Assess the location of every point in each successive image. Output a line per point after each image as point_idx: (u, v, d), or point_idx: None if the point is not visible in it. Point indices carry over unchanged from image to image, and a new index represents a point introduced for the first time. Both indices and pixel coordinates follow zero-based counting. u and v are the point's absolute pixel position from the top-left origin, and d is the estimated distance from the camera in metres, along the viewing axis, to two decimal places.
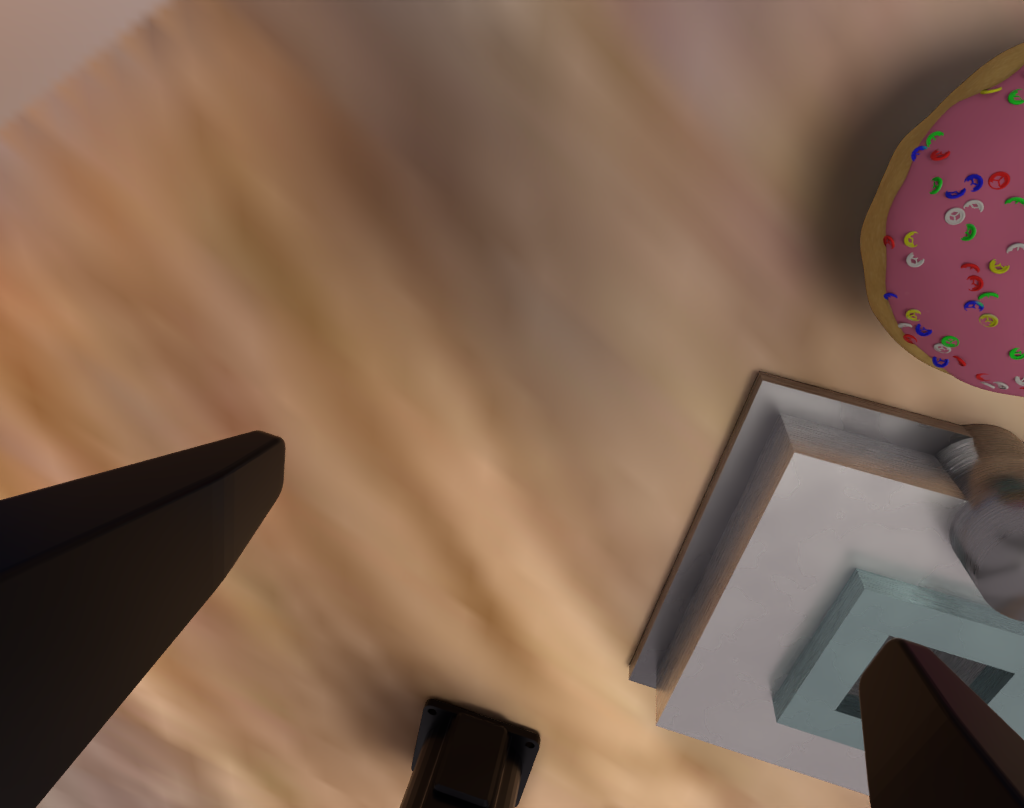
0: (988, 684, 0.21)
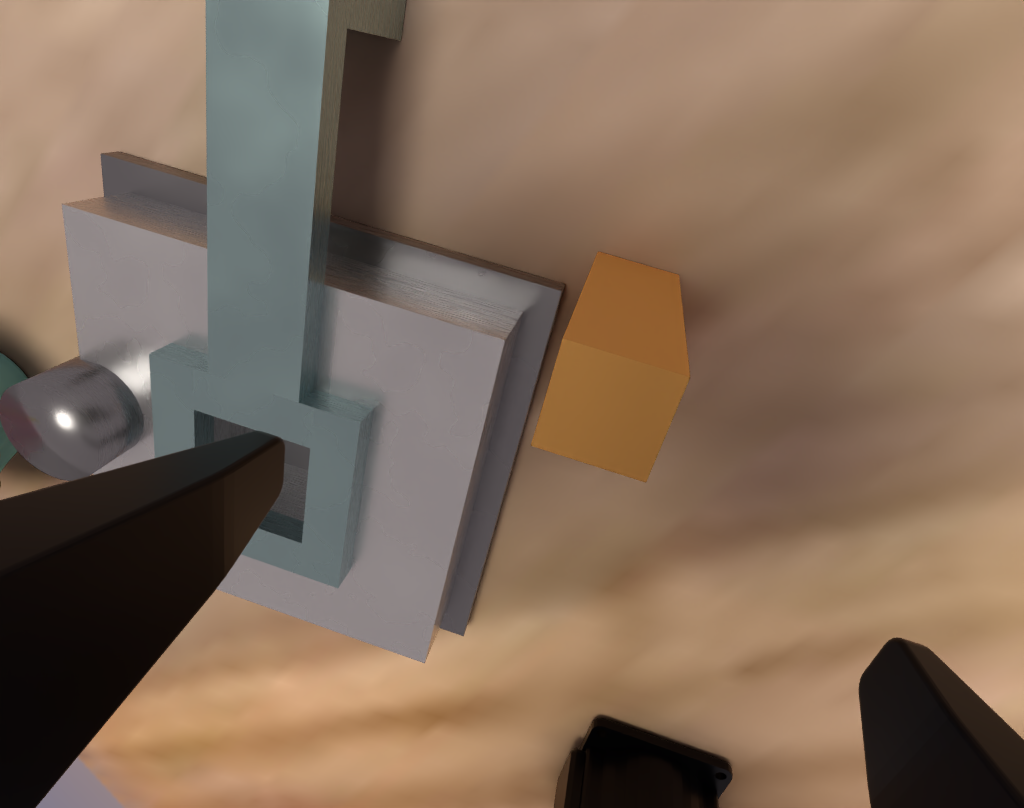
0: None
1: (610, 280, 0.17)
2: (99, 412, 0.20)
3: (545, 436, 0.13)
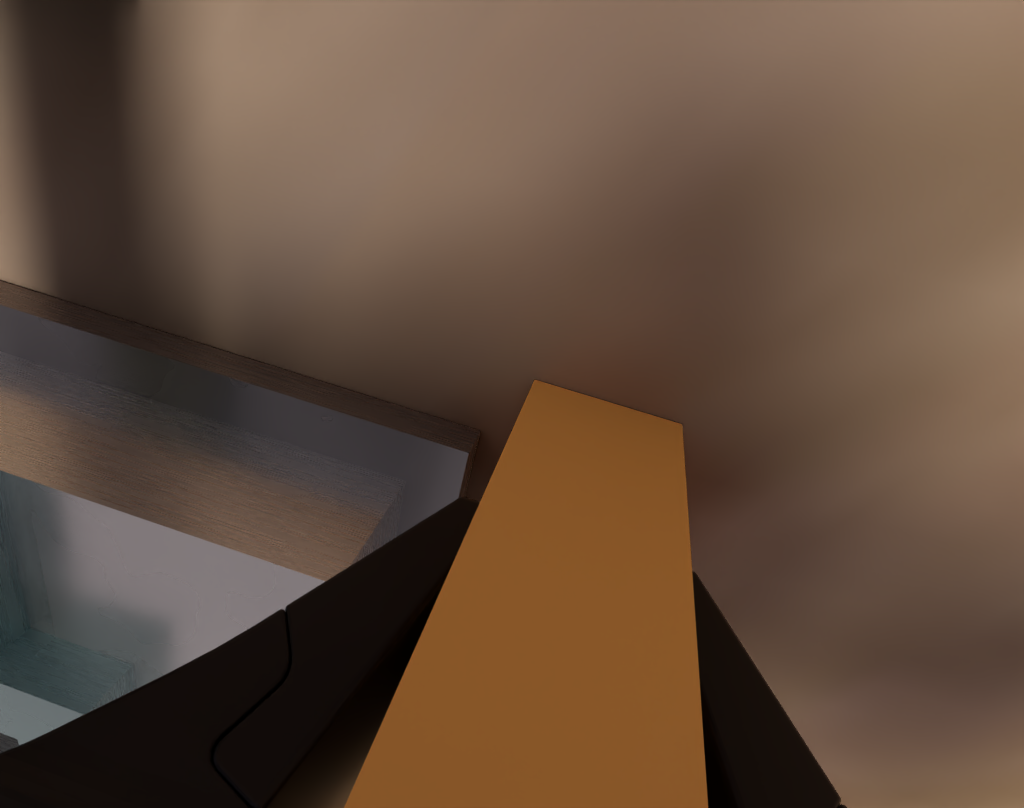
0: None
1: (541, 479, 0.08)
2: None
3: None
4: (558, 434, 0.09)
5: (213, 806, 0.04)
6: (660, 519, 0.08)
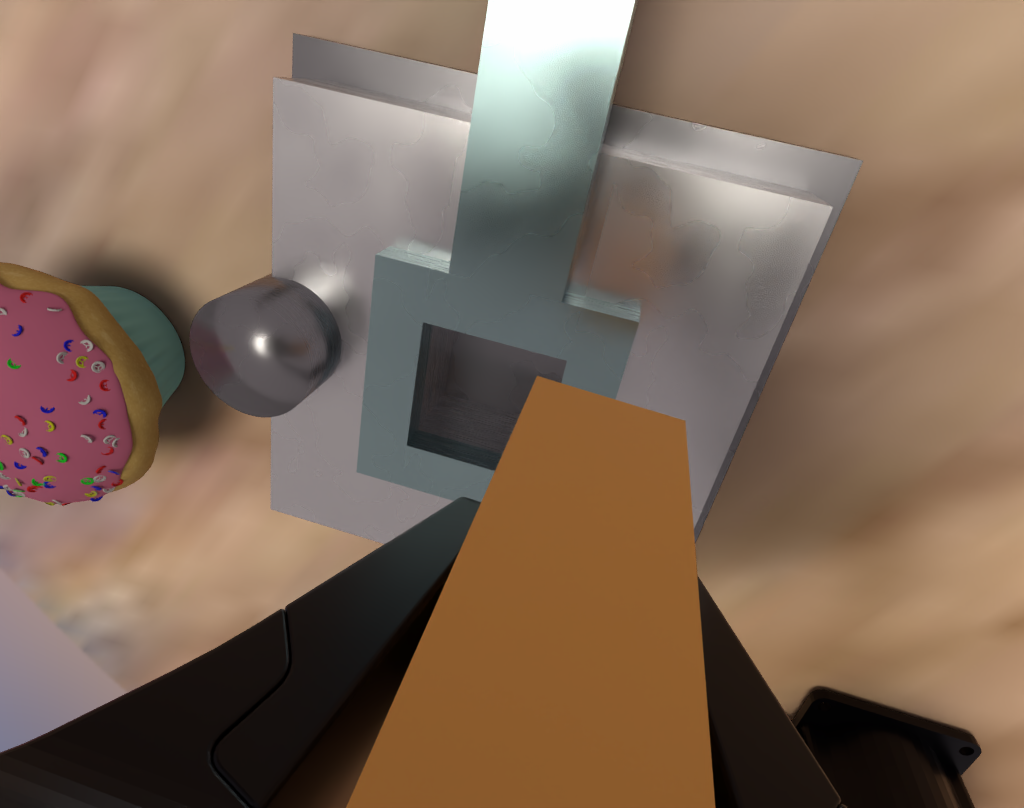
0: None
1: (543, 475, 0.08)
2: (308, 331, 0.17)
3: None
4: (561, 430, 0.09)
5: (213, 806, 0.04)
6: (664, 515, 0.08)
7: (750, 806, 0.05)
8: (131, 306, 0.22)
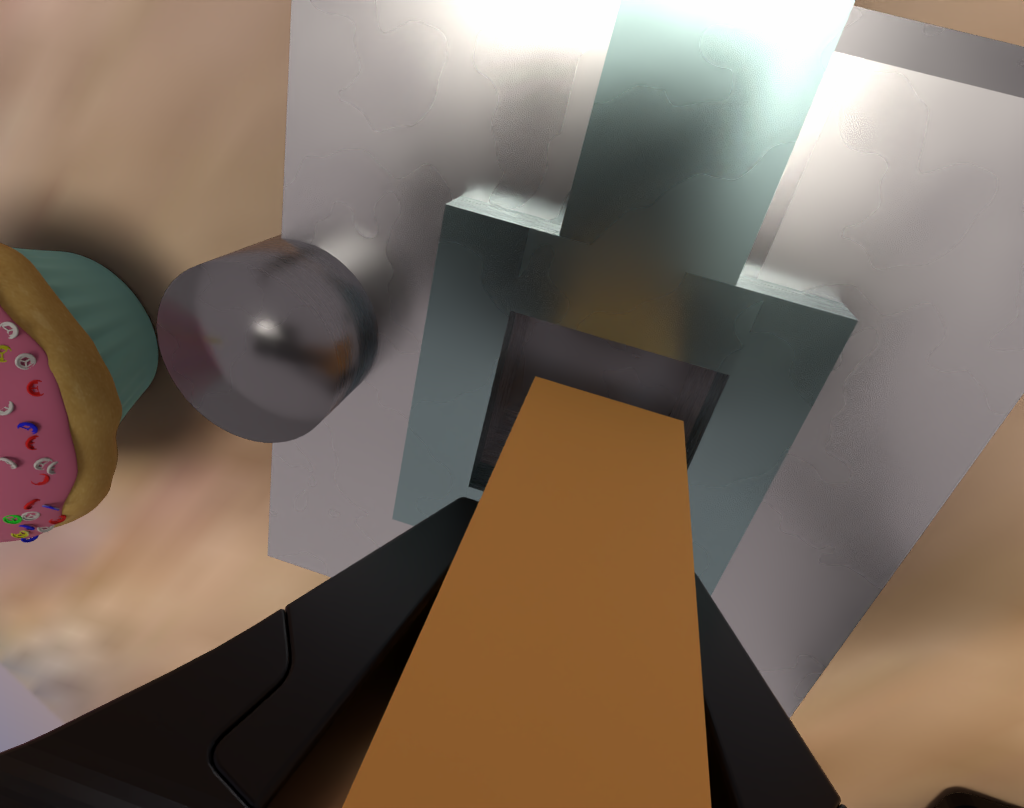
0: None
1: (542, 476, 0.08)
2: (336, 320, 0.11)
3: None
4: (559, 430, 0.09)
5: (212, 806, 0.04)
6: (662, 515, 0.08)
7: (750, 806, 0.05)
8: (85, 278, 0.17)
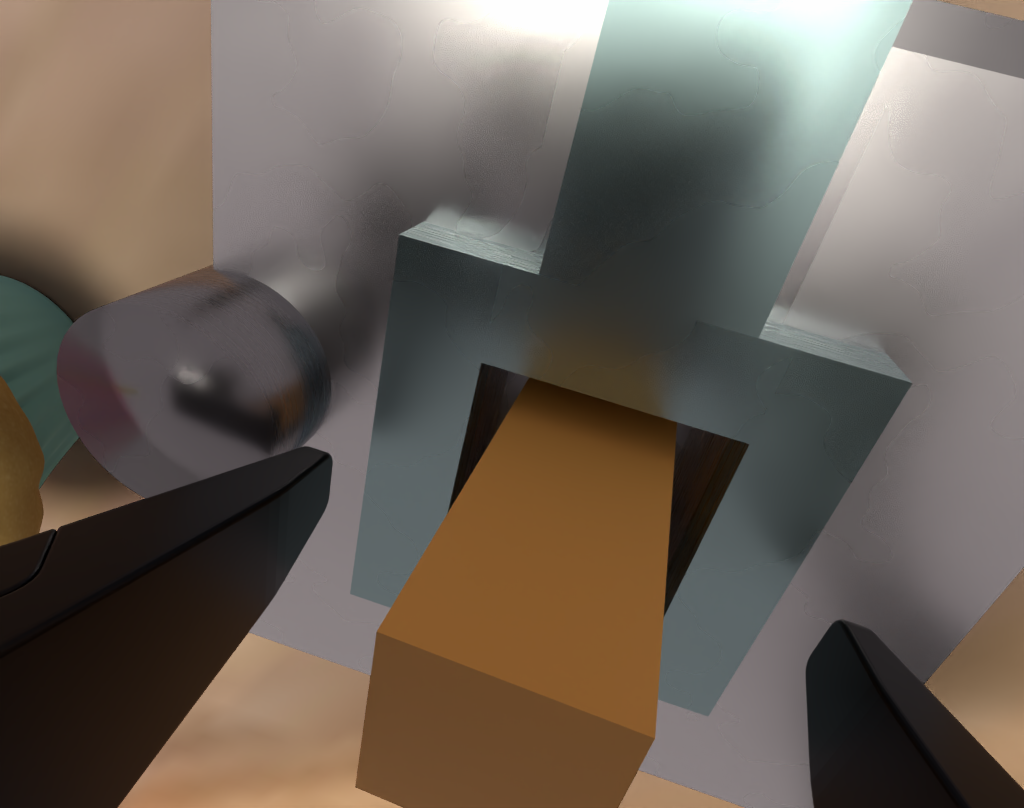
0: None
1: (555, 404, 0.10)
2: (270, 372, 0.09)
3: (379, 780, 0.07)
4: None
5: None
6: (652, 435, 0.10)
7: None
8: (10, 306, 0.15)
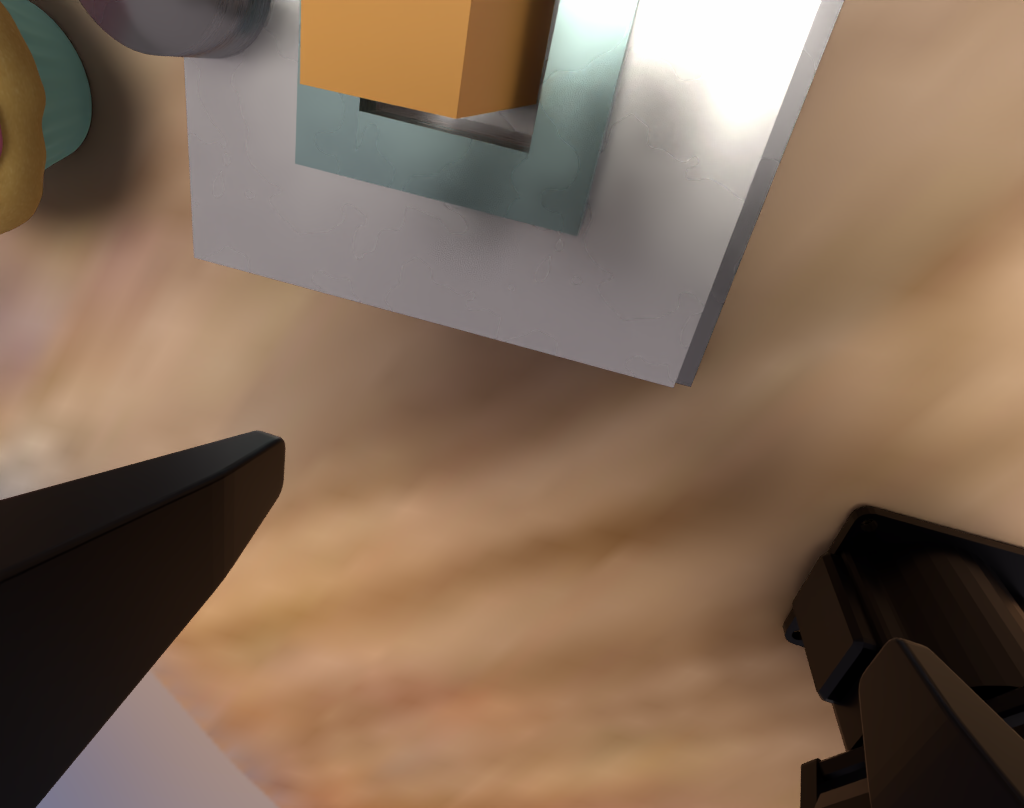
0: None
1: None
2: None
3: (315, 64, 0.10)
4: None
5: None
6: None
7: None
8: None
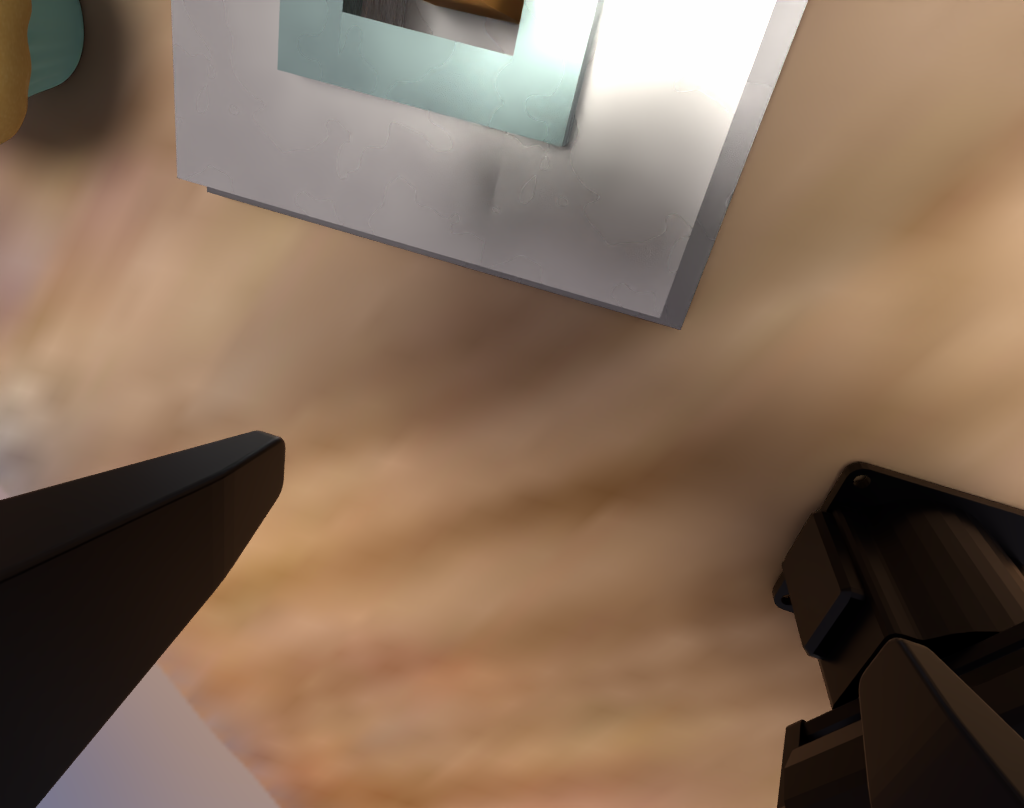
0: None
1: None
2: None
3: None
4: None
5: None
6: None
7: None
8: None
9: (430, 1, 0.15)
